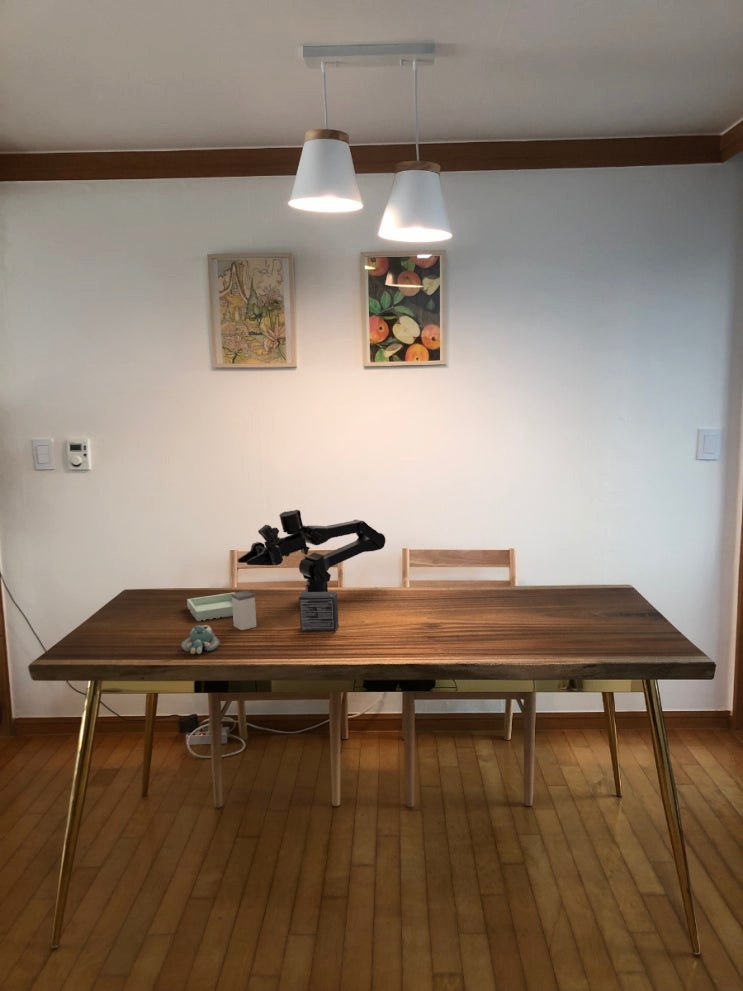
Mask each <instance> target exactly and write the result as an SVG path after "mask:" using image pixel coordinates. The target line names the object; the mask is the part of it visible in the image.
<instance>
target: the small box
mask: <svg viewBox="0 0 743 991" xmlns="http://www.w3.org/2000/svg"><path fill="white" fill-rule="evenodd" d="M298 602H299V604H298V605H299V619H300V621H299V623H300V632H301V633H315V632H314V631H318V632H317V633H322V631H324V632H323V633H325V631H327V632H326V633H329V631H334V632H335V633H336V631H337V630H338V627H339V625H340V624H339V607H338V591H328V592H304V591H302V592H301V594H300V595H299V597H298ZM311 631H312V632H311Z"/></svg>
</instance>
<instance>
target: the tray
mask: <svg viewBox="0 0 743 991" xmlns="http://www.w3.org/2000/svg"><path fill="white" fill-rule="evenodd" d="M233 593H236V592H229V593H227V592H226V593H221V594H214V595H208V596H199V597H193V598H186V604H187V606H186V607H187V610H190V611H189V612H190V613H191V615H192V616H193V618H194V617H195V618H194V619H195V620H196V622H202V621H201V620H203V621H207V620H206V619H209V620H213V618H216V619H221V618H220V617H222V618H227V617H228V618H229V617H233V607H232V594H233Z"/></svg>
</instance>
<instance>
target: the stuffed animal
mask: <svg viewBox="0 0 743 991" xmlns="http://www.w3.org/2000/svg"><path fill="white" fill-rule="evenodd" d="M219 645H220V640H219V639H218V638H217V637H216V635H215V634H214V632H213V630H212V627H211V626H209V625H208V624H204V625H200V624H199V625H195V626H194V627H193V628H192V629H190V633H189V637H187V638H186V639H184V640H183V641H182V642H180V646H181V648H182V650H183V651H185V652H187V653H190V654H191V655H195V654H198V655H200V654H202V651H203V650H204V651H206V650H207V651H206V652H210V651H214V650H215V649H217V648H218V646H219ZM189 651H190V652H189Z"/></svg>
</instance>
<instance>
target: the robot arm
mask: <svg viewBox="0 0 743 991" xmlns="http://www.w3.org/2000/svg"><path fill="white" fill-rule="evenodd" d="M301 514H302V513H301V510H299V509H295V510H289V511H283V512H280V514H279V515H278V516H279V520H280V523H281V527H282V532H283V533H286V534H287V536H284V537H279V533H280V530H279V528H278V527H272V526H270V525H269V524H264V526H262V527H261V528H259V529H258V531H257V532H258V534H259V535H260V536H261V537H262V538H263V539H264V543H263V542H260V541H255V542H253V543H252V544H251V548H250V550H249V551H248V552H246V553H245V554H244V555H242V556H241V557H239V558H238V559H237V562H238V564H240V563H241V564H244V563H245V564H246V565H247V566H270V567H271V566H272V567H273V566H274V567H275V566H279V565H281V564H282V563H283V561H284V559H283V558H284V557H290V555H291V554H294V553H296V552H299V551H300V553H302V554H303V555H304V556H303V557H304V558H303V559H301V560H300V563H299V565H298V570H299V573H300V574H301V575H302V576H303V579H305V580H306V584H305V585H304V586H305V587H304V588H305V589H304V591H305V592H329V591H328V590H329V589H328V586H329V585H328V582H330V581H331V576H332V574H330V573H329V570H330V569H331V567H333V566H336V565H338V564H340V563H343V562H345V561H347V560H349V559H351V558H353V557H356V556H358V555H361V554H362V553H369V552H375V551H379V550H382V549H384V548H385V545H386V542H387V541H386V537H385V535H384V534H383V533H381V532H379V531H377V530H375V529H374V528H373V527H372V526H370V525H369V524H368V523H367V522H366V521H364V520H361V519H353V520H350V521H345V522H340V523H339V522H338V523H336V524H330V525H304V524H303V521H302V515H301ZM352 534H353V535H354V534H356V537H357V539H356V540H354V541H353V542H351V543H348V544H346V545H343V546H342V547H338V548H336V549H334V550H332V551H329V552H328V553H325V554H322V553H321V554H320V553H317V552H313V553H310V554H309V555H308V553H309V550H310V548H311V547H310V546H308V545H307V544H309V545H313V546H320V545H322V544H324V543H327V542H328V541H329V540H330V539H331V540H332V539H333V538H334V539H335V538H338V537H343V536H347V535H349V536H350V535H352Z"/></svg>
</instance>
